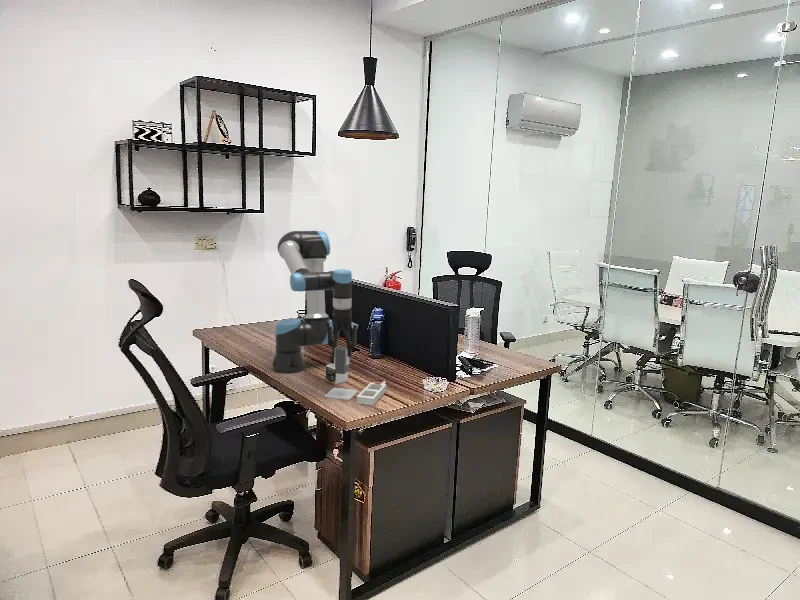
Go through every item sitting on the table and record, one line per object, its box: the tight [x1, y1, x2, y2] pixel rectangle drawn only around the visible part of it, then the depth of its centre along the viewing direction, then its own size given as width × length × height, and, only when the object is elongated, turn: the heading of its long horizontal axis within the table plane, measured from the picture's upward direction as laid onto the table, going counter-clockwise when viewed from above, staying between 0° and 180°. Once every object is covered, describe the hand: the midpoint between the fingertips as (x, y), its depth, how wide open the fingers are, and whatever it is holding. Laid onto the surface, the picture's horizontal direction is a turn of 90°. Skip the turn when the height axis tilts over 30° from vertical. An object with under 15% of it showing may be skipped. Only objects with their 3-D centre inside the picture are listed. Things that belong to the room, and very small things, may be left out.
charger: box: [335, 346, 350, 374], centre depth 229 cm, size 5×4×10 cm
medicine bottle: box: [325, 354, 349, 385], centre depth 247 cm, size 7×7×12 cm
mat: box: [323, 387, 359, 401], centre depth 232 cm, size 11×11×1 cm
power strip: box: [356, 380, 388, 407], centre depth 234 cm, size 27×7×4 cm, turn 165°
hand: (342, 363), depth 229 cm, fingers closed on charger, 4 cm apart
